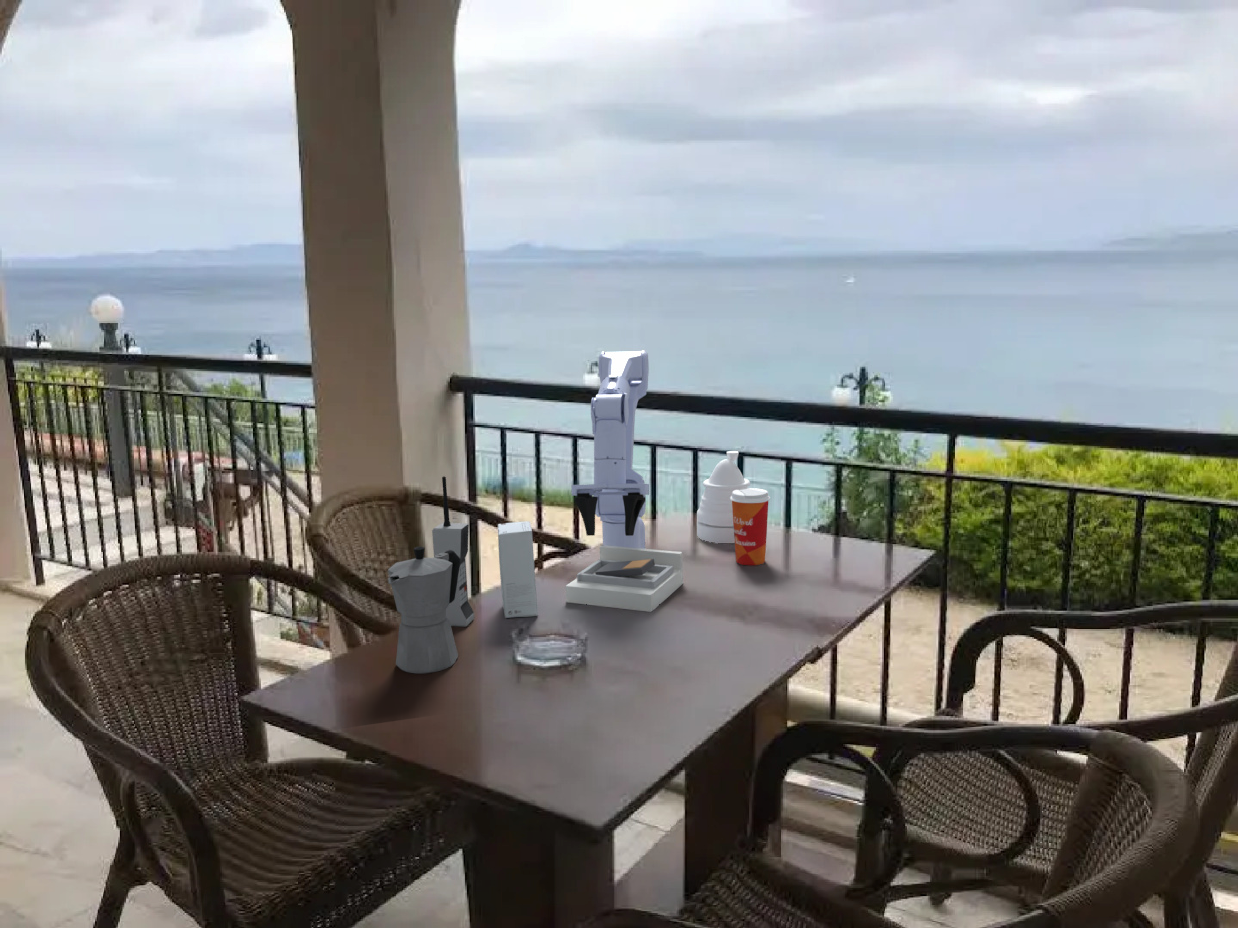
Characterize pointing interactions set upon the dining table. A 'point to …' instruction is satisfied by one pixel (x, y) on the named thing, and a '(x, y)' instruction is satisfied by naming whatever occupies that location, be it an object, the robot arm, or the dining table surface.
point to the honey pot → (720, 501)
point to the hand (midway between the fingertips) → (609, 535)
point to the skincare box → (517, 569)
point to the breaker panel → (628, 580)
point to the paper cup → (750, 525)
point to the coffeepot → (425, 610)
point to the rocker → (626, 568)
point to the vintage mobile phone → (457, 540)
